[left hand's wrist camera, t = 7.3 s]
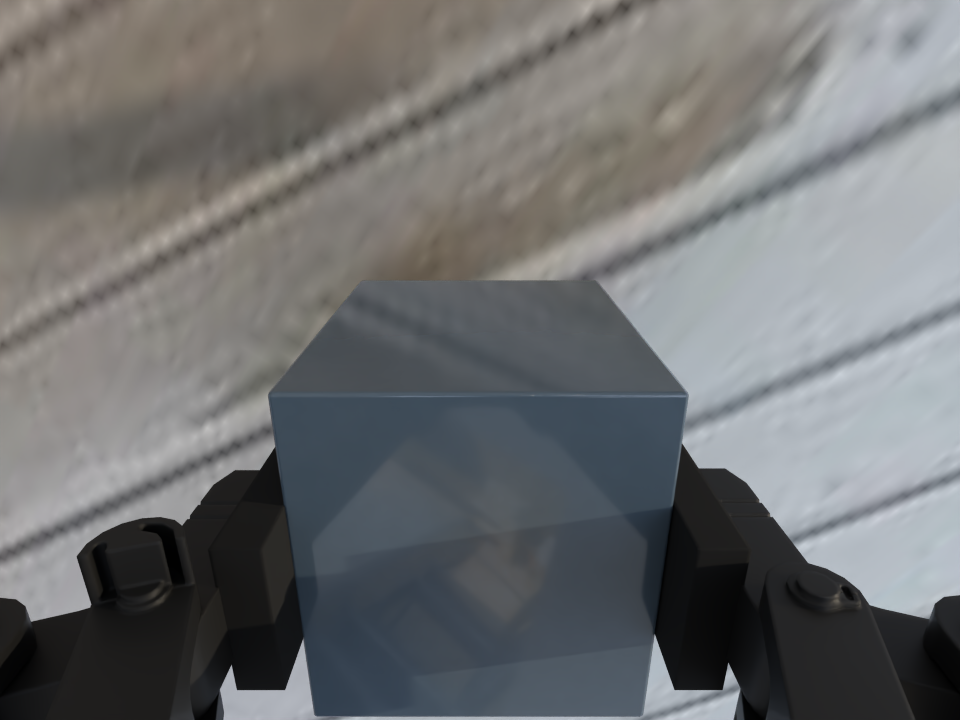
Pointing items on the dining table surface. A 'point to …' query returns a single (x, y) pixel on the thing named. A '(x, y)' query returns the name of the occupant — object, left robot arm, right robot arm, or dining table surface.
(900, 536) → the dining table surface
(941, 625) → the left robot arm
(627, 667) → the cube
